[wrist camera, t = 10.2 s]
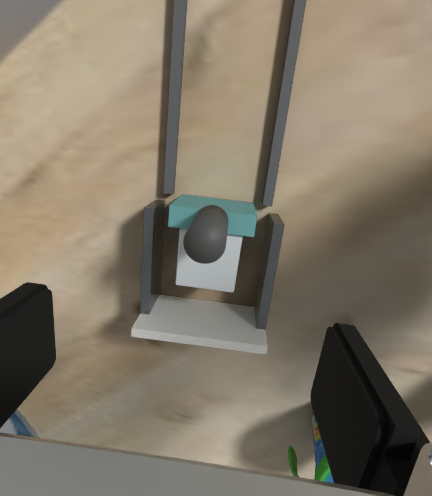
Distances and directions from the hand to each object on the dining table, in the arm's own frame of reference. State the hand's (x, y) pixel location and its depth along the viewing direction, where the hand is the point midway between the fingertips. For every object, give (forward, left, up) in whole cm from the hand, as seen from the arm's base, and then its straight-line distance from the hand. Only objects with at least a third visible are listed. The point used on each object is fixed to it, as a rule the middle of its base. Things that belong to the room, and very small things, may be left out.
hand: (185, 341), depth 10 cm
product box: (+1, +4, -27) cm, 27 cm away
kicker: (+1, 0, -26) cm, 26 cm away
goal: (+1, +6, -26) cm, 27 cm away
